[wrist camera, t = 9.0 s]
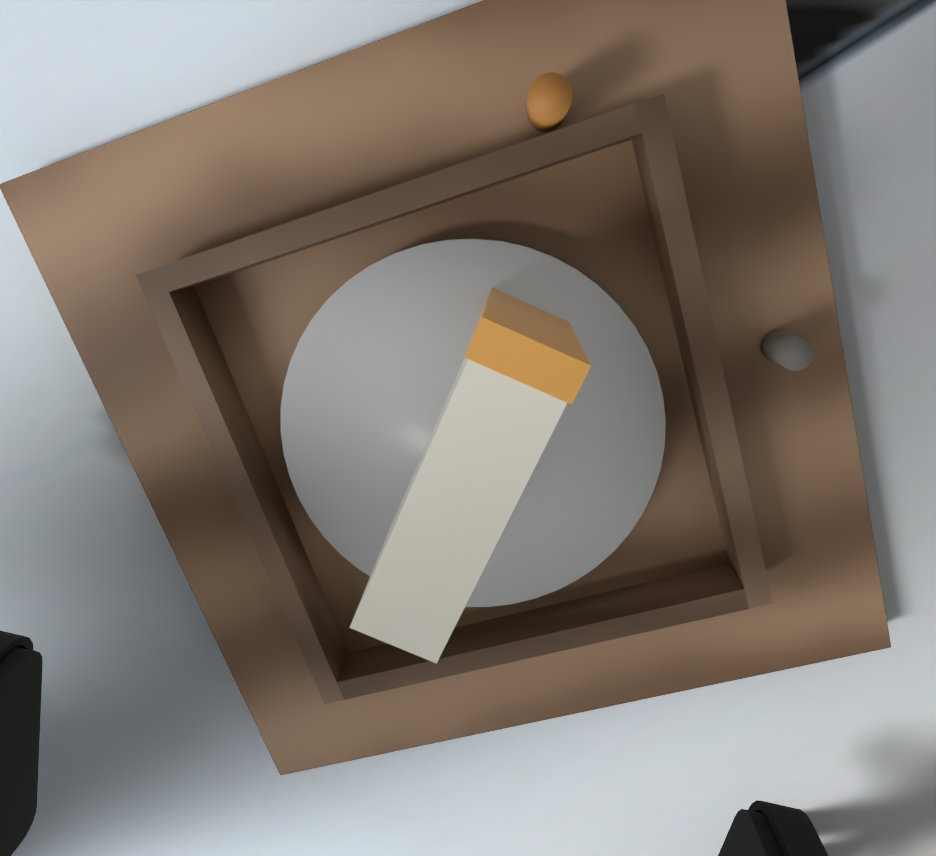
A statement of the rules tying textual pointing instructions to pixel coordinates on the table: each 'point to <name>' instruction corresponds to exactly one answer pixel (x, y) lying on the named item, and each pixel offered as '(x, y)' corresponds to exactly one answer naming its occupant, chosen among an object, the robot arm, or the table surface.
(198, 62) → the table surface
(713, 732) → the table surface
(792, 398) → the dial board
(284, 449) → the dial
